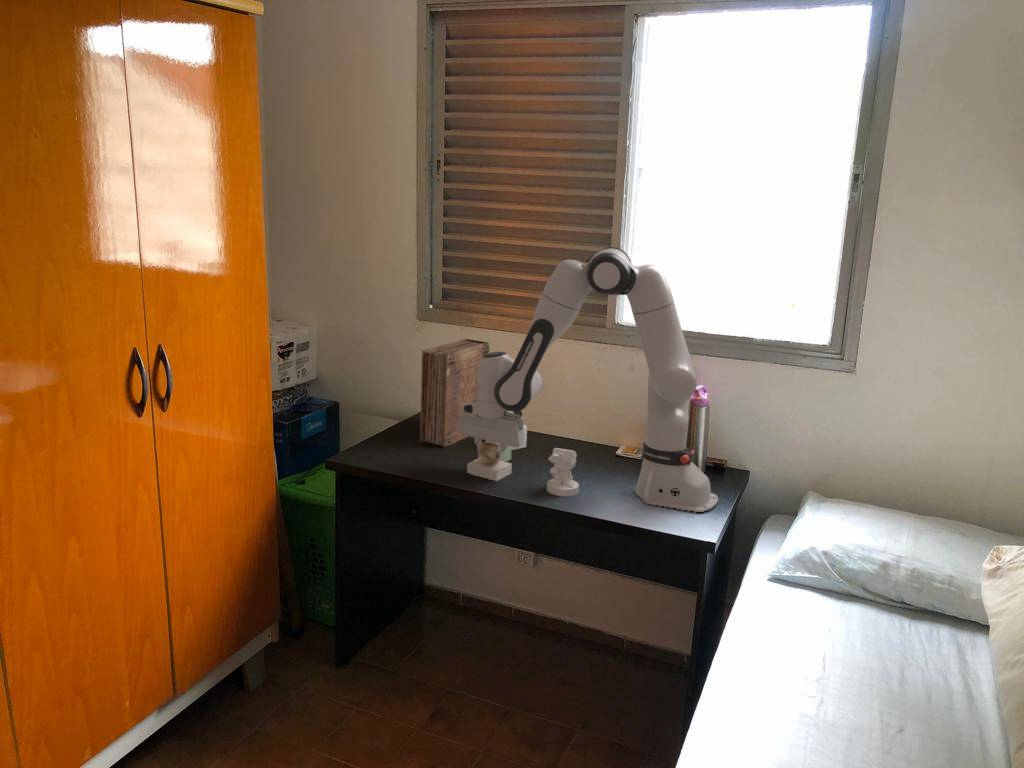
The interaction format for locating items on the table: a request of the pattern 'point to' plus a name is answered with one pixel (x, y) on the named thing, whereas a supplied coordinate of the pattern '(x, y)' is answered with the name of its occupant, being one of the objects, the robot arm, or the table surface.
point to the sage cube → (507, 454)
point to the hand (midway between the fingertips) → (490, 455)
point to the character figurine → (562, 473)
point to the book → (448, 388)
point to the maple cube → (488, 452)
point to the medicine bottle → (524, 433)
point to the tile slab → (489, 469)
